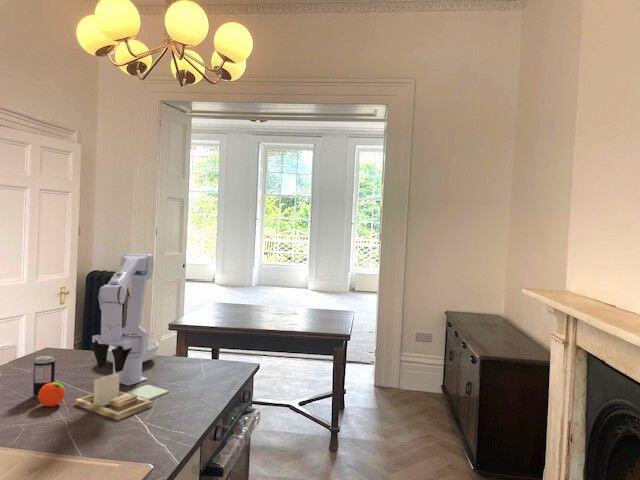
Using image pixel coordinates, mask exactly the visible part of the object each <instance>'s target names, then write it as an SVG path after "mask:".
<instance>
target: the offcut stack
mask: <svg viewBox="0 0 640 480" xmlns="http://www.w3.org/2000/svg"><path fill="white" fill-rule="evenodd" d="M109 405H110V407H108V409H111V410H113V411H116V412H120V411H123V410H125V409H128V408H131V407H133V406H136V405H139V404H138V403H137V396H136V395H133V394H129V393H127V394H124V395H122V396H119V397H117V398H114V399H111V400H110V404H109Z"/></svg>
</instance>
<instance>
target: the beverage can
mask: <svg viewBox="0 0 640 480" xmlns="http://www.w3.org/2000/svg"><path fill="white" fill-rule="evenodd" d="M54 357H55V356H54V355H53V354H52V355H51V354H44V355H38V356H36V357H35V359H34V362H33V379H32V381H33V387H32V390H33V391H32V395H33V396H34V397H36V398H37V399H38V393H39V391H40V389H41V388H42V387H43V386H44V385H45V384H47V383H50V382H56V377H55V376H56V373H55V372H56V359H55V358H54Z"/></svg>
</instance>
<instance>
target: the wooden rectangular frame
mask: <svg viewBox="0 0 640 480" xmlns="http://www.w3.org/2000/svg"><path fill="white" fill-rule="evenodd" d="M124 394H127V393H126V392H124V391H121V390H119V396H122V395H124ZM137 403H138V405H136V406H133V407H131V408H128V409H125V410H123V411H120V412H116V411H113V410H111V409H109V407H108V408H107V407H105V406H99V405H97V404H94V393H92V394H89V395H85V396H82V397H79V398H76V399H75V405H76V406H77V407H80V408H83V409H86V410H89V411H91V412H93V413H97V414H99V415H101V416H105V417H106V418H110V419H113V420H115V421H119V420H122V419H124V418H127V417H129V416H132V415H133V414H137V413H139V412H141V411H144V410H147V409H149V408H151V407H153V401H152V400H147V399H144V398H141V397H137Z"/></svg>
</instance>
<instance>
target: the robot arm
mask: <svg viewBox="0 0 640 480" xmlns="http://www.w3.org/2000/svg"><path fill="white" fill-rule="evenodd" d="M154 264H155V263H154V256H153V255H152V254H151V253H127V252H124V253H123V254H122V255H121V258H120V268H121V269H120V271H117V272H115V273H114V274H113V276H112V277H111V278H110V280H109V281H108V283H107V284H104V285H102V286H100V287H99V290H98V295H97V296H98V302H99V310H101V311H100V312H101V317H100V334H96V335H92V336H91V337H92V339H91V341H92V344H90V348H91V350H92V352H93V354H94V357H95V359H96V364H97V367H98V368H99V369H100V368H104V367H106V366H107V362H108V361H107V353H108V349H109V346H110V345H111V346H114V349H112V353H113V356H114V361H113V363H112V374H118V375H119V384H121V385H125V386H128V387H129V386H133V385H134V384H138V383H141V382H144V381H147V380H148V378H147V377H145V376H142V375H143V372H142V371H143V362H142V355H143V354H145V353H146V351H147V348H148V340H149V339H148V337H149V335H148V332H147V331H146V330H145V329H144V328H143V327H142V319H143V318H142V316H143V310H144V300H145V294H146V293H145V291H146V285H147V281H149V280H151V279H152V277H153V273H154ZM130 285H131V286H130ZM129 287H130V292H129V293H130V294H129V300H128V307H127V308H128V309H127V314H126V315H127V316H126V322H125V326H124V327H123V304H124V303H125V301H126V297H127V293H128V292H127V291H128V289H129ZM93 343H94V344H93Z"/></svg>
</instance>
